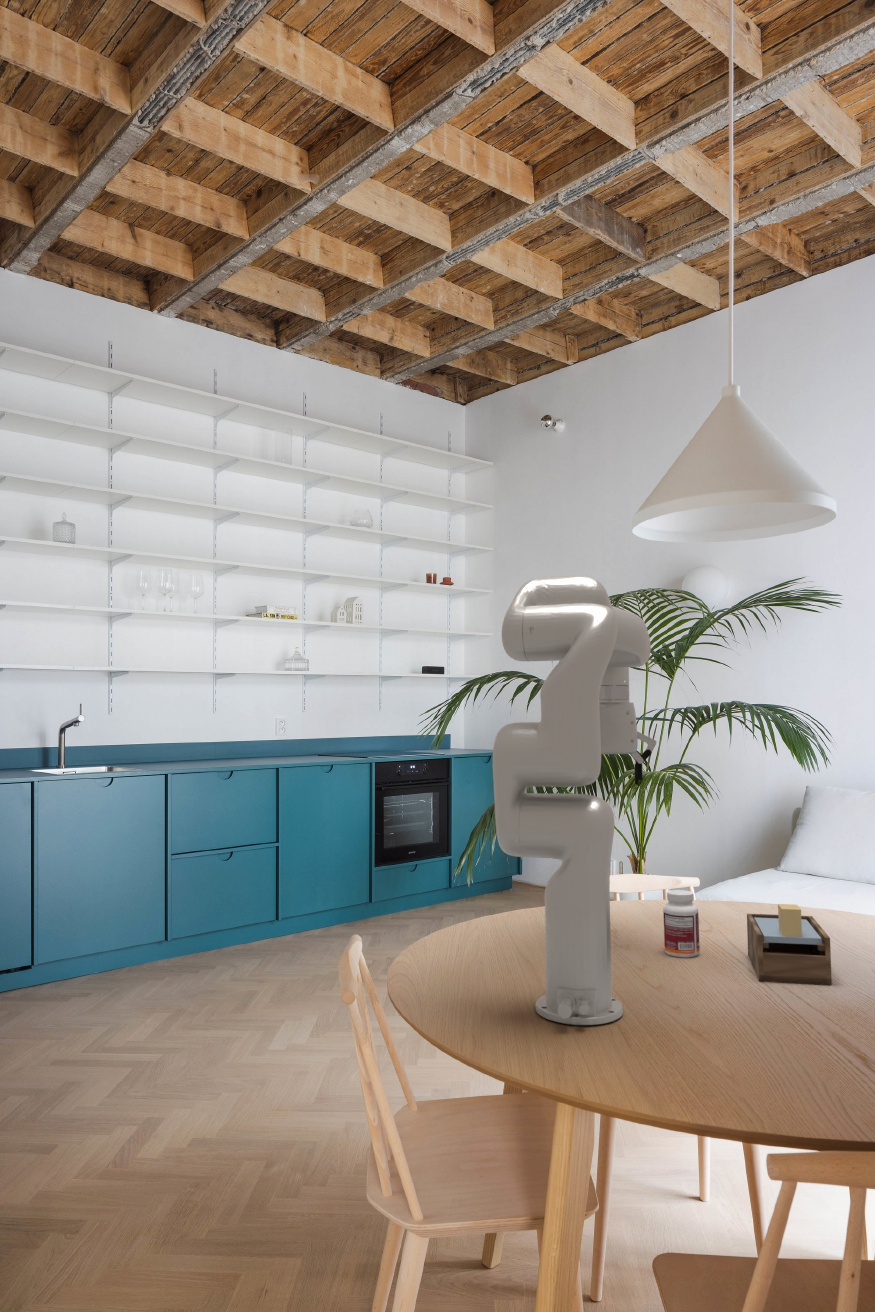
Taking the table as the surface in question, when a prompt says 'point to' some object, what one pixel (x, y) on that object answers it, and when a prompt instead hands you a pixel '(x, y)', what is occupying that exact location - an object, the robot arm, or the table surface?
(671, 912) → the pill bottle
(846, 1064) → the table surface
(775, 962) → the walnut box
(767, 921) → the cover plate
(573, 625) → the robot arm
